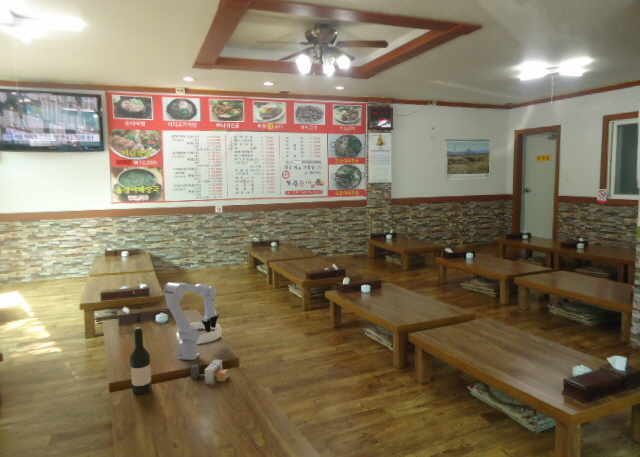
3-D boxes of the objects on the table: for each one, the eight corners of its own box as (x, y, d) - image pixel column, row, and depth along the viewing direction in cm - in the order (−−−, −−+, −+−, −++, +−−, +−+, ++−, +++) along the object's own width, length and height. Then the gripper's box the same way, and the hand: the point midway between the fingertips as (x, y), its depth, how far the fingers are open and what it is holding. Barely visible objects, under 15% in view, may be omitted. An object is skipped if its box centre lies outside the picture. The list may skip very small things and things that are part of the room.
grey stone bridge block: (205, 384, 214) (204, 369, 213) (214, 373, 226) (214, 359, 225) (213, 384, 213) (212, 370, 213) (222, 373, 225) (221, 360, 224)
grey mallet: (190, 379, 219) (189, 367, 219) (194, 375, 223) (193, 364, 223) (227, 381, 216) (226, 369, 216) (230, 377, 220) (229, 365, 220)
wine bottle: (155, 387, 211) (151, 325, 208) (143, 396, 203) (139, 331, 200) (141, 385, 214) (137, 324, 210) (128, 393, 206) (123, 330, 202)
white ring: (202, 326, 298) (202, 318, 298) (230, 334, 283) (230, 325, 282) (167, 338, 277) (167, 330, 276) (196, 347, 261) (195, 338, 260)
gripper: (211, 310, 250) (212, 334, 252) (221, 303, 264) (222, 325, 266) (199, 310, 251) (200, 333, 253) (209, 303, 265) (210, 325, 267)
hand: (210, 329), depth 259 cm, fingers open, 7 cm apart
